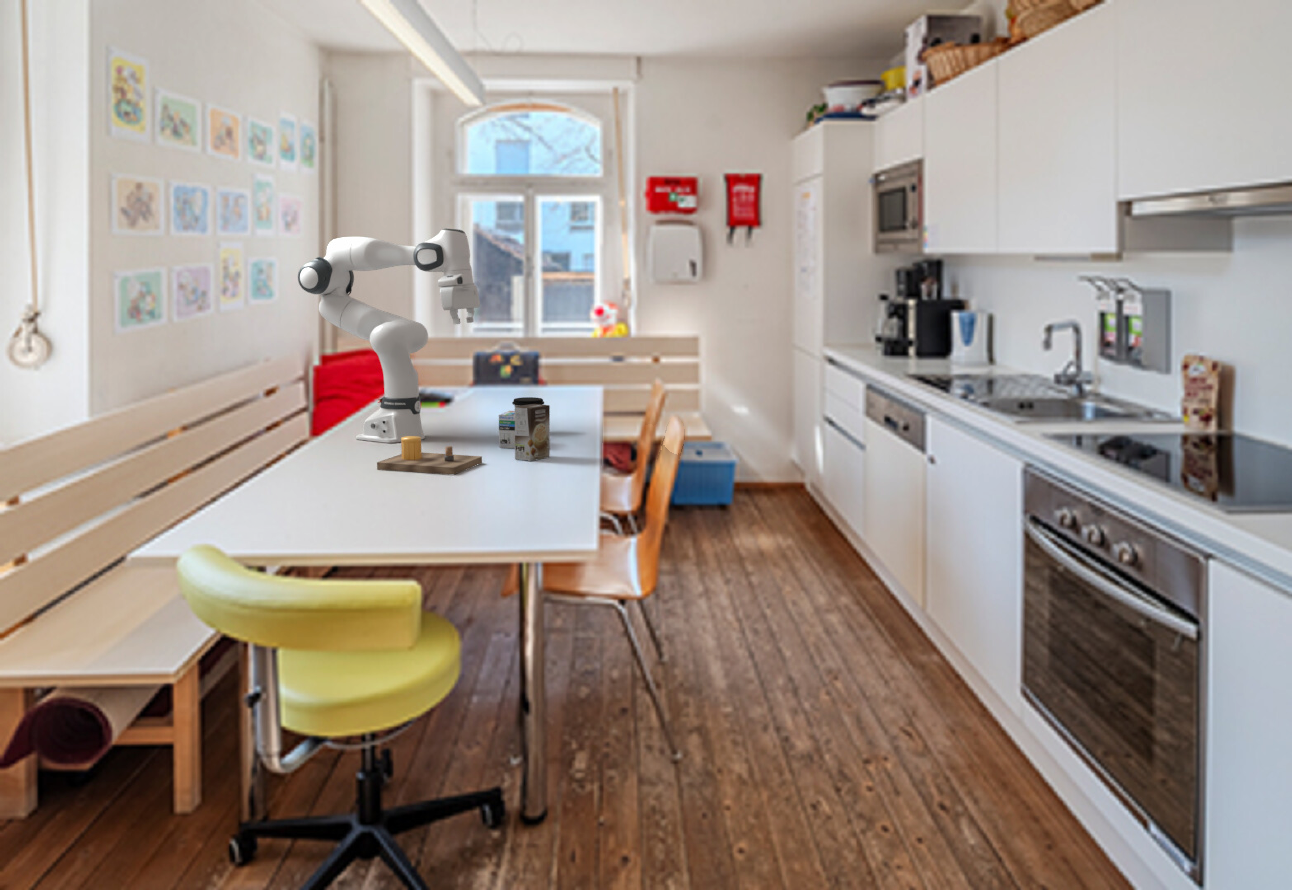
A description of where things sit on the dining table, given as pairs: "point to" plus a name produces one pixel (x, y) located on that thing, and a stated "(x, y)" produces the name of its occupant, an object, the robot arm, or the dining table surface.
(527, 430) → the coffee box
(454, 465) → the wooden peg board
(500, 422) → the light bulb box
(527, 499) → the dining table surface
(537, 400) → the coffee cup
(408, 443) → the wire cap
